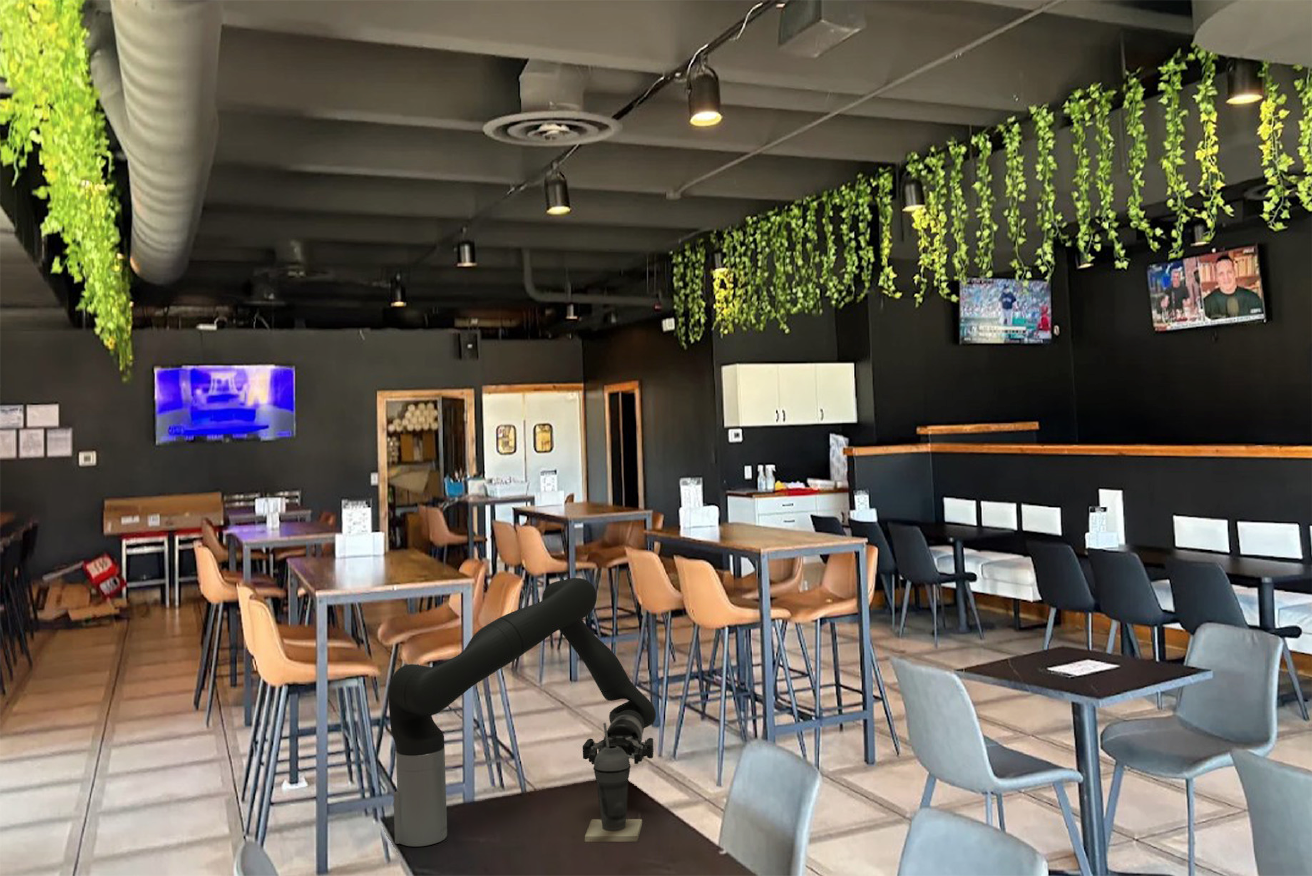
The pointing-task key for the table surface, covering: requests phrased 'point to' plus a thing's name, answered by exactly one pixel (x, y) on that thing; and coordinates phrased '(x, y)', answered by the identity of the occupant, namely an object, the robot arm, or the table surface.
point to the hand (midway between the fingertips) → (614, 759)
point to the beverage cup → (612, 785)
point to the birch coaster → (613, 832)
